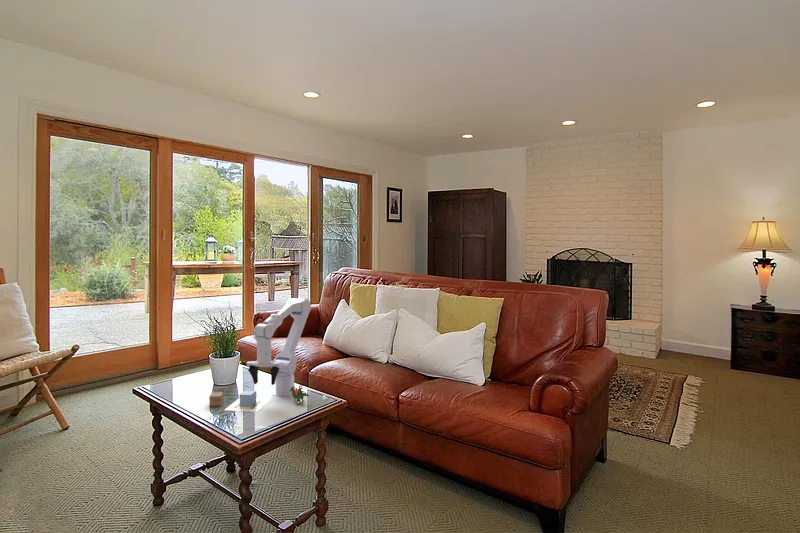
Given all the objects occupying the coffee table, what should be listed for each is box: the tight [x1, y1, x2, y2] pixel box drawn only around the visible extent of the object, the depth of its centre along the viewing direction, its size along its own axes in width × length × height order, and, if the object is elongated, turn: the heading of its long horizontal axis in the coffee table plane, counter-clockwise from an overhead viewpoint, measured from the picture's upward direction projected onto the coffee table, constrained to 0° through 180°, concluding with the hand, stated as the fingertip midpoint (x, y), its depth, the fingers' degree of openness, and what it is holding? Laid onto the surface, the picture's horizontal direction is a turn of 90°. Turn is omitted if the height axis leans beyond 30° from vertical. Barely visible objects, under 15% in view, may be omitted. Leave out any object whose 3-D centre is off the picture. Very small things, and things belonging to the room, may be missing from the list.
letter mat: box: [224, 397, 271, 413], centre depth 186 cm, size 14×14×1 cm
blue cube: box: [239, 389, 257, 407], centre depth 186 cm, size 5×5×5 cm
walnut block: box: [208, 391, 224, 407], centre depth 187 cm, size 4×4×4 cm
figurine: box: [289, 384, 311, 406], centre depth 188 cm, size 3×12×8 cm, turn 55°
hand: (264, 383), depth 188 cm, fingers open, 7 cm apart
